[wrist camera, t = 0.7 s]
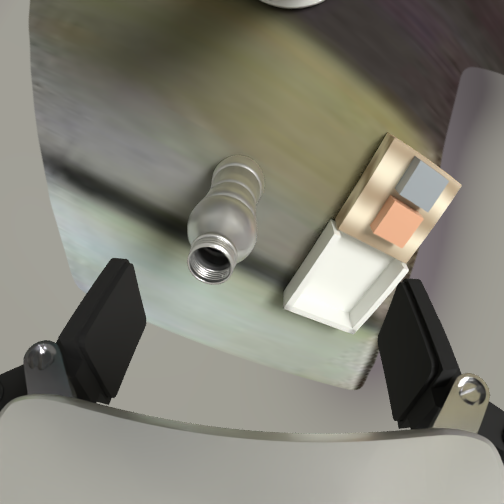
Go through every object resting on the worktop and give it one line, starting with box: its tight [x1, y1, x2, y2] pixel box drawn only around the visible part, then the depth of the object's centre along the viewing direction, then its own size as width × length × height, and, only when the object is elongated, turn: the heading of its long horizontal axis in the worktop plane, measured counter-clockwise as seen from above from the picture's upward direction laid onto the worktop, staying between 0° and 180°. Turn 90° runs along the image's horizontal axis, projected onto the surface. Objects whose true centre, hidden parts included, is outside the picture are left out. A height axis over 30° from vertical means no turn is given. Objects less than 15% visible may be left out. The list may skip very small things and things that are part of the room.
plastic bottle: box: [187, 155, 265, 284], centre depth 33 cm, size 6×7×20 cm
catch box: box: [283, 219, 409, 334], centre depth 46 cm, size 14×13×4 cm
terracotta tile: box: [370, 195, 424, 248], centre depth 38 cm, size 5×5×2 cm
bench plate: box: [335, 132, 462, 264], centre depth 39 cm, size 14×12×3 cm
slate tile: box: [395, 156, 449, 212], centre depth 35 cm, size 5×5×2 cm
